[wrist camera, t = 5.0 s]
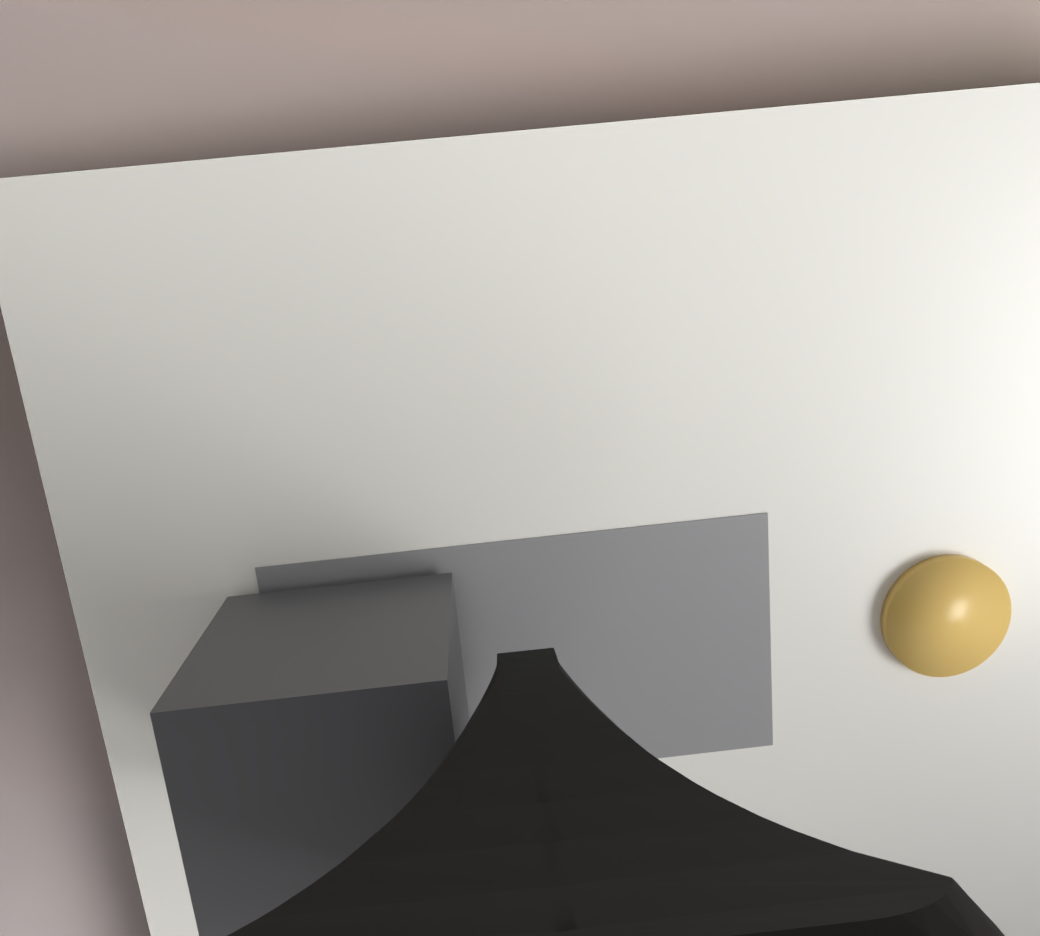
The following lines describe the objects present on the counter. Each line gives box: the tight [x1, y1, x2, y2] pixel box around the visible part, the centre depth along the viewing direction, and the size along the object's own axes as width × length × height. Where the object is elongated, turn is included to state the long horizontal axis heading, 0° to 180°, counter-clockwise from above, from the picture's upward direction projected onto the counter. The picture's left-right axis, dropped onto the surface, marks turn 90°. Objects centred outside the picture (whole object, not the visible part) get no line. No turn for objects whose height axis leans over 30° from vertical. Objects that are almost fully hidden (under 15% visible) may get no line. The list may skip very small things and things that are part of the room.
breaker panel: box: [0, 83, 1040, 936], centre depth 13 cm, size 15×20×4 cm
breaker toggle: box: [150, 573, 470, 936], centre depth 11 cm, size 3×3×3 cm
